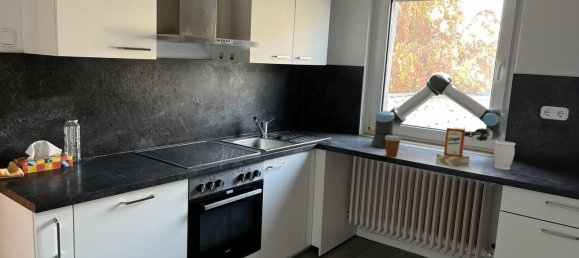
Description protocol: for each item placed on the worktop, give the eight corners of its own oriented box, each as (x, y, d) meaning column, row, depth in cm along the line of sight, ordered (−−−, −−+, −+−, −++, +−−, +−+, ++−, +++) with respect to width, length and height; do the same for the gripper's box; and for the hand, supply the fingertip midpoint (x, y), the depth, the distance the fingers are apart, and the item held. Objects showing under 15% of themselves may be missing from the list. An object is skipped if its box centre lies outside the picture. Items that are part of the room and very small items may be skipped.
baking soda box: (443, 154, 258) (446, 127, 256) (445, 153, 264) (448, 126, 262) (461, 157, 254) (464, 129, 252) (462, 155, 260) (465, 128, 258)
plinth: (435, 162, 261) (436, 154, 260) (450, 160, 269) (451, 152, 268) (453, 167, 251) (454, 158, 250) (468, 164, 259) (469, 156, 258)
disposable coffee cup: (388, 157, 268) (389, 137, 266) (380, 154, 277) (382, 134, 275) (402, 157, 270) (404, 137, 268) (394, 154, 279) (396, 135, 278)
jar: (495, 165, 262) (498, 140, 259) (514, 168, 255) (517, 142, 253) (489, 168, 254) (492, 141, 251) (509, 171, 247) (512, 144, 245)
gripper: (502, 144, 264) (481, 146, 252) (464, 137, 284) (443, 139, 272) (503, 131, 263) (482, 133, 251) (465, 125, 283) (444, 126, 271)
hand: (462, 136), depth 261 cm, fingers open, 13 cm apart
